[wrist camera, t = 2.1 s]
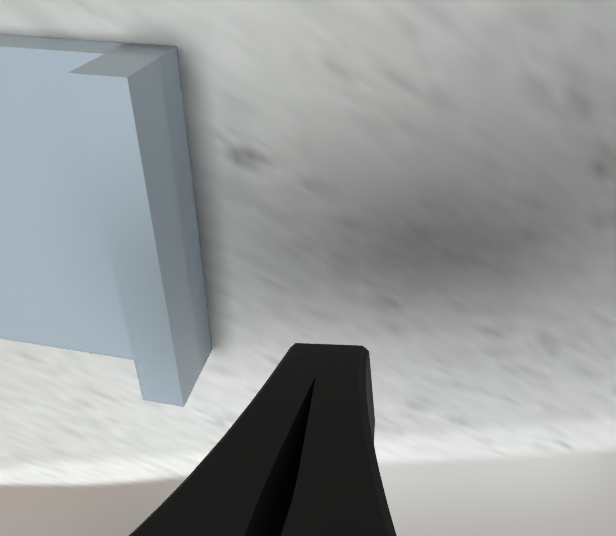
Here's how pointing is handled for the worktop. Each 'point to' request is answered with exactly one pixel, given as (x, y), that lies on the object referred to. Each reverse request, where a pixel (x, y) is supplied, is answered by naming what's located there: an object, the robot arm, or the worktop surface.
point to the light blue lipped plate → (101, 208)
